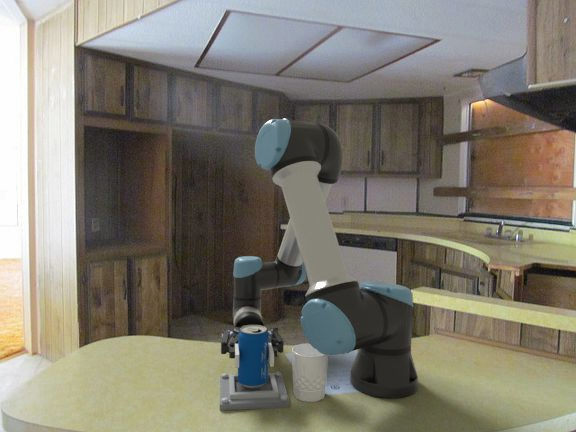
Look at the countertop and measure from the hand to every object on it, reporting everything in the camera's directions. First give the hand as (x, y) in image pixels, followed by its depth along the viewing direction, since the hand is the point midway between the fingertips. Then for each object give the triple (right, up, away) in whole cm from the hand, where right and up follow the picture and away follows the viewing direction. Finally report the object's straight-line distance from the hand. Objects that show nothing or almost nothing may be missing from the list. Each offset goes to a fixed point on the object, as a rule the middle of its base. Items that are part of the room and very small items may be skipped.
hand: (254, 360), depth 96 cm
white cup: (+11, -9, +5) cm, 16 cm away
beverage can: (-1, -7, +6) cm, 9 cm away
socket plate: (-1, -9, +6) cm, 10 cm away
